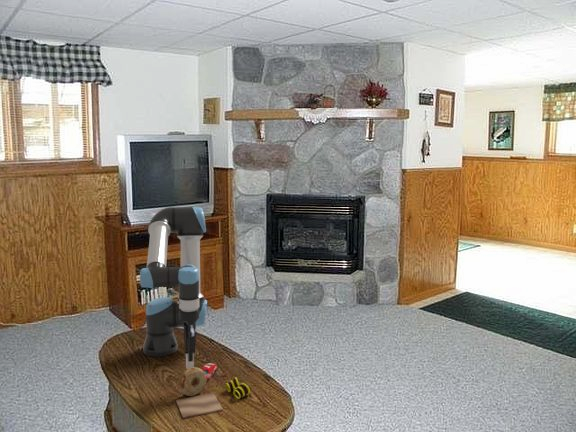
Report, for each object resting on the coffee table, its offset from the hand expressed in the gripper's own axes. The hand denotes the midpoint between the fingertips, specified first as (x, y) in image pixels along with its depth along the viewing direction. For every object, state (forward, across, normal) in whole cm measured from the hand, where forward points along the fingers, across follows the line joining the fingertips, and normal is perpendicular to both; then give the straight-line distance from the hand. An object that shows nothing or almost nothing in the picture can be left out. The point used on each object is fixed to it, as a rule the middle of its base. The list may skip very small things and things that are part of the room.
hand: (189, 367), depth 187 cm
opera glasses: (+9, +11, +16) cm, 21 cm away
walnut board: (+8, +14, 0) cm, 16 cm away
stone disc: (+8, +5, 0) cm, 10 cm away
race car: (+9, -7, +8) cm, 14 cm away
